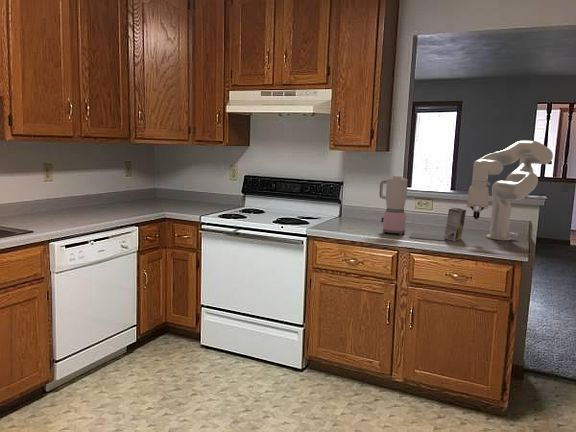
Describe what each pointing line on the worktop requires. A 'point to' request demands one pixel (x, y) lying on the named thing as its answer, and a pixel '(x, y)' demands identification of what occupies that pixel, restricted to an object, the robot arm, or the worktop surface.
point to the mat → (427, 236)
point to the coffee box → (455, 224)
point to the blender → (394, 204)
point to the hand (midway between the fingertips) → (476, 219)
